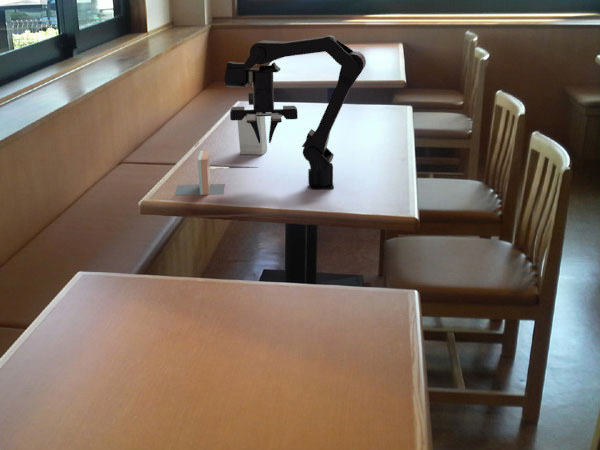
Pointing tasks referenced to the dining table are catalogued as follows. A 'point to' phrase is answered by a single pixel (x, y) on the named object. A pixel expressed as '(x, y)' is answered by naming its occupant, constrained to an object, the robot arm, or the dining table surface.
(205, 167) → the tile
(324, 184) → the robot arm
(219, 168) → the chocolate bar
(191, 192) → the mat
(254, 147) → the skincare box
